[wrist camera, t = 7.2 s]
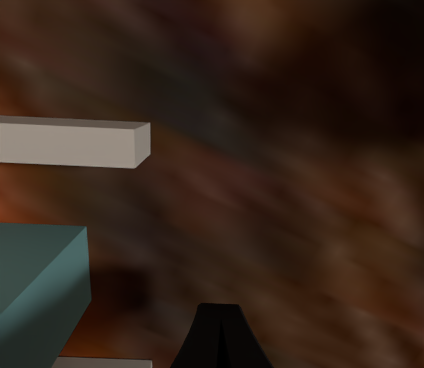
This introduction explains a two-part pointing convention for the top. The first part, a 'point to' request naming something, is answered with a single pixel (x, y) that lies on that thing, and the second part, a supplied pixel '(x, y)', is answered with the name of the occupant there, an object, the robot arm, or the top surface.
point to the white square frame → (77, 156)
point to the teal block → (40, 291)
